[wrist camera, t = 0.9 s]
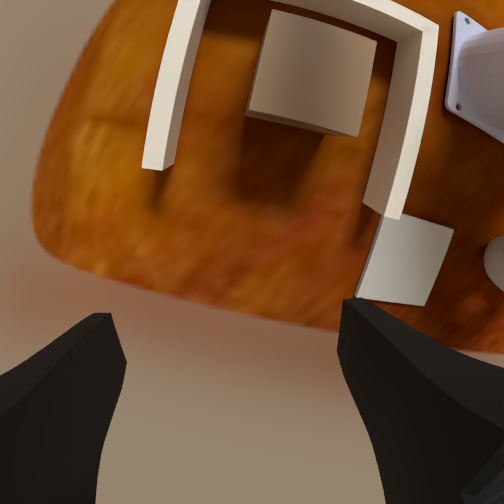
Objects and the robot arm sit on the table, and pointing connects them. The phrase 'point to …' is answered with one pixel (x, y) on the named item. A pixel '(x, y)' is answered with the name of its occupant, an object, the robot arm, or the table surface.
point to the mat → (404, 260)
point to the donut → (495, 261)
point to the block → (311, 75)
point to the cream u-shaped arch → (397, 107)
